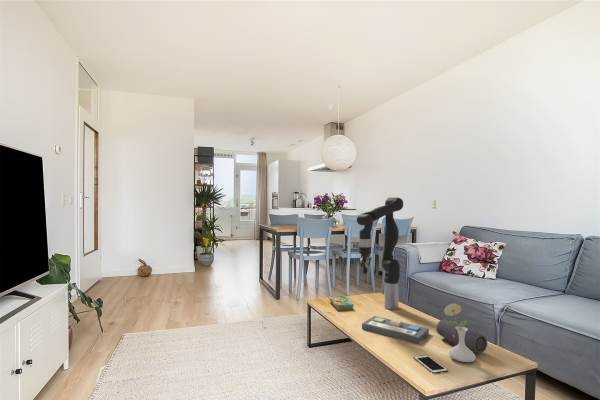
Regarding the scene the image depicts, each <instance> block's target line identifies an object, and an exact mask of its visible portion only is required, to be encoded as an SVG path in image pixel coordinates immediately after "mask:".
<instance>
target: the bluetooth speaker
mask: <svg viewBox="0 0 600 400" xmlns="http://www.w3.org/2000/svg"><path fill="white" fill-rule="evenodd" d="M449 321H450V320H447V319H440V320H439V321H438V323H437V325H436V332H437V334H438V335H439V336H440V337H442V338H444V339H446V340H447V341H449V342H450V343H451V344H452V345H454V346H457V345H458V344H459V334H458V331H457V329H456V327H458V325H459V323H458V324H457V323H455V324H454V325H450V324H447V323H448V322H449ZM460 327H465V328H467V329H468V330H467V331H466V333H465V339H464V341H465V345H466V347H467V348H469V349H470V350H471V351H472V352H473V353H474V352H475V353H478V354H482V353H484V352H485V351H486V349H487V347H488V340H487V338H486V336H485V335H483V334H481V333H480V332H477V331H475V330H473V329H470V328H468V327H466V326H465V325H464V326H460Z"/></svg>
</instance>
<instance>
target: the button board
mask: <svg viewBox="0 0 600 400" xmlns="http://www.w3.org/2000/svg"><path fill="white" fill-rule="evenodd" d="M377 317H379V318H383V319H385V322H383V323H378V322H374V319H375V318H377ZM391 320H392V319H390V318H386V317H381V316H377V315H373V316H372V317H370V318H368V319H367V320H365V321H364V322H362V323H361V329H362V330H366V331H370V332H372V333H376V334H381V335H385V336H388V337H390V338H396V339H398V340H402V341H406V342H410V343H414V344H418V345H419V344H421V342H422V341H423V340H424V339H425V338H426V337H427V336H428V335H429V334H430V332H429V331H430V330H429V329H430V328H428V327H425V326H420V325H417V324H413V323H408V322H403V321H402V326H400V327H395V326H391V325H390V321H391ZM410 325H413V326H417V327H420V330H419V331H418V332H416V331H411V330H408V327H409V326H410Z"/></svg>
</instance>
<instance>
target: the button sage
mask: <svg viewBox="0 0 600 400" xmlns="http://www.w3.org/2000/svg"><path fill="white" fill-rule="evenodd" d="M379 317H380V316H377V318H375V319H374V322H378V323H383V322H385V319H383V318H384V317H382V318H379Z"/></svg>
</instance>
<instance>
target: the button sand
mask: <svg viewBox="0 0 600 400" xmlns="http://www.w3.org/2000/svg"><path fill="white" fill-rule="evenodd" d="M390 320H391V321H390V325H391V326H395V327H400V326H402V322H403V320H399V319H395V318H393V319H390Z"/></svg>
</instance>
